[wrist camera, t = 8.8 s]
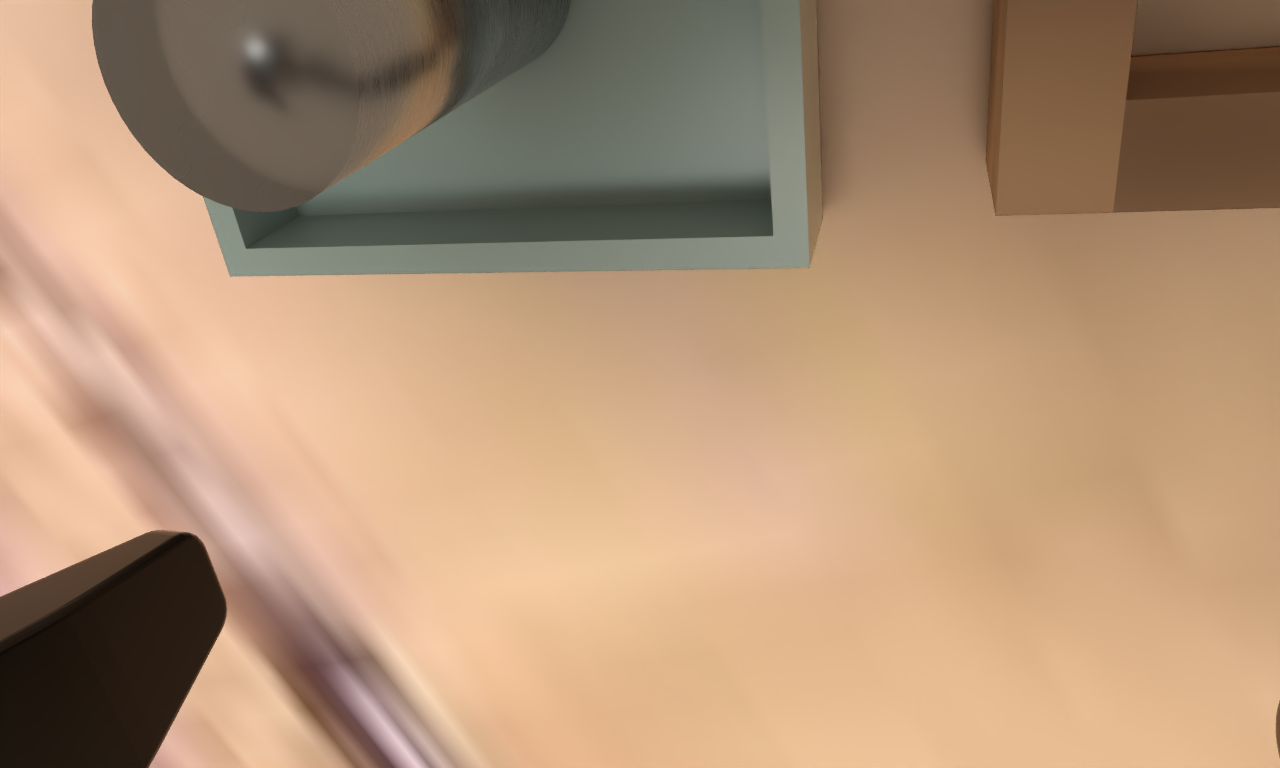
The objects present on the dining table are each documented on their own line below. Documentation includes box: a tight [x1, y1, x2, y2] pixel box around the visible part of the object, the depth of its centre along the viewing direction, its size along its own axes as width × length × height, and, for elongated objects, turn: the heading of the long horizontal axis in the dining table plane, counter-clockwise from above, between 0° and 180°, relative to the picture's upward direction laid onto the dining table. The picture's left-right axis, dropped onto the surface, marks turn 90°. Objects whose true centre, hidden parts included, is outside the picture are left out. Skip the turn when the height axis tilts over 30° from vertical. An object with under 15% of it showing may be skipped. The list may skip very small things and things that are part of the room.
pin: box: [92, 0, 571, 212], centre depth 15 cm, size 3×3×8 cm
